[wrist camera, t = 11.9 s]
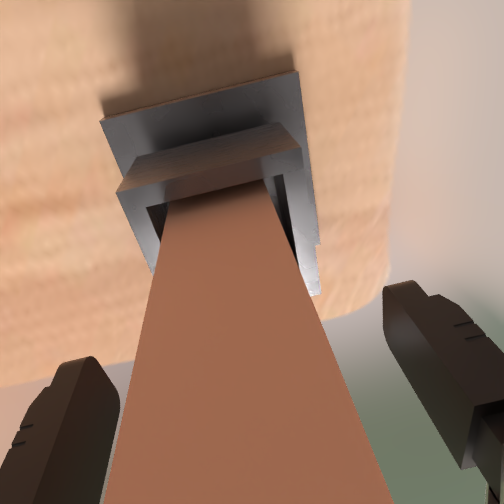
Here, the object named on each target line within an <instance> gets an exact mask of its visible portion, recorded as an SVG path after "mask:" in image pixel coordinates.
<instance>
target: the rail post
mask: <svg viewBox="0 0 504 504" xmlns="http://www.w3.org/2000/svg"><path fill="white" fill-rule="evenodd" d="M104 504H394V502H393V500H392V497H391V495H390V492H389V490H388V488H387V485H386V482H385V480H384V478H383V475H382V473H381V470H380V468H379V465H378V463H377V461H376V458H375V455H374V453H373V450H372V448H371V445H370V443H369V441H368V438H367V436H366V433H365V430H364V428H363V426H362V423H361V421H360V418H359V416H358V413H357V411H356V409H355V406H354V403H353V401H352V398H351V396H350V394H349V391H348V388H347V386H346V384H345V381H344V379H343V376H342V374H341V371H340V369H339V366H338V364H337V361H336V359H335V356H334V354H333V351H332V349H331V346H330V344H329V341H328V339H327V336H326V334H325V332H324V329H323V327H322V324H321V322H320V319H319V317H318V314H317V312H316V309H315V307H314V304H313V302H312V299H311V297H310V294H309V292H308V289H307V287H306V284H305V282H304V279H303V277H302V275H301V272H300V270H299V267H298V265H297V262H296V260H295V257H294V255H293V252H292V250H291V247H290V245H289V242H288V240H287V237H286V235H285V232H284V230H283V228H282V225H281V223H280V220H279V218H278V215H277V213H276V210H275V208H274V205H273V203H272V200H271V198H270V195H269V193H268V190H267V188H266V185H265V183H264V180H263V179H259V180H255V181H251V182H247V183H243V184H239V185H234V186H230V187H226V188H222V189H218V190H214V191H210V192H206V193H202V194H198V195H194V196H189V197H185V198H181V199H177V200H173V201H170V203H169V208H168V212H167V217H166V221H165V226H164V230H163V235H162V240H161V244H160V249H159V253H158V258H157V262H156V267H155V271H154V276H153V280H152V285H151V290H150V294H149V299H148V303H147V308H146V312H145V317H144V321H143V326H142V330H141V335H140V340H139V344H138V349H137V353H136V358H135V362H134V367H133V371H132V376H131V381H130V385H129V390H128V394H127V399H126V403H125V408H124V413H123V417H122V421H121V426H120V431H119V435H118V440H117V444H116V449H115V454H114V458H113V462H112V467H111V472H110V476H109V481H108V485H107V490H106V494H105V499H104Z"/></svg>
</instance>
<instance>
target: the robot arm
mask: <svg viewBox="0 0 504 504" xmlns="http://www.w3.org/2000/svg"><path fill="white" fill-rule="evenodd" d="M382 295H383V330H384V335H385V338H386V341H387V344H388V346H389V348H390V350H391V352H392V354H393V355H394V357H395V359H396V360H397V362H398V364H399V366H400V367H401V369H402V371H403V372H404V374H405V376H406V377H407V379H408V381H409V382H410V384H411V386H412V388H413V389H414V391H415V393H416V394H417V396H418V398H419V400H420V401H421V403H422V405H423V406H424V408H425V410H426V411H427V413H428V415H429V417H430V418H431V420H432V422H433V423H434V425H435V427H436V429H437V430H438V432H439V434H440V435H441V437H442V439H443V440H444V442H445V444H446V446H447V447H448V449H449V451H450V452H451V454H452V456H453V457H454V459H455V461H456V462H457V464H458V466H459V468H460V469H461V470H463V469H467V468H472V467H476V466H477V467H478V468H479V469H480V472H481V473H482V475H483V476H484V478H485V479H486V481H487V483H486V494H485V504H504V353H503V352H502V351H501V350H500V349H499V348H498V347H497V345H496V344H494V342H493V341H492V340H491V339H490V338H489V337H486V335H485V333H484V332H483V330H482V329H481V328H480V327H479V326H478V325H477V324H474V322H473V320H472V319H471V318H470V317H469V316H468V315H467V313H466V312H465V311H464V310H463V309H462V308H461V307H460V306H459V305H457V304H456V303H454V302H452V301H450V300H449V299H447V298H445V297H443V296H441V295H439V294H438V295H433V296H429V297H428V295H427V294H426V293H425V292H424V291H423V290H422V288H421V287H420V286H419V285H418V284H417V283H416V282H415V281H413V280H410V281H406V282H402V283H397V284H393V285H389V286H385V287H384V288H383V293H382ZM119 413H120V399H119V395H118V392H117V390H116V388H115V386H114V385H113V383H112V382H111V380H110V379H109V377H108V376H107V374H106V373H105V371H104V370H103V368H102V367H101V365H100V364H99V362H98V361H97V360H96V359H95V358H94V357H92V356H89V357H85V358H81V359H77V360H72V361H68V362H64V363H62V364H61V365H60V366H59V367H58V369H57V371H56V374H55V376H54V378H53V381H52V383H51V385H50V386H49V387H45V388H44V389H43V390H42V392H41V393H40V394H39V395H38V397H37V398H36V399H35V400H34V401H33V403H32V404H31V405H30V406H29V408H28V410H27V413H26V414H25V417H24V419H23V421H22V423H21V425H20V431H18V432H17V434H16V436H15V438H14V440H13V442H12V448H11V449H9V451H8V453H7V455H6V457H5V459H4V461H3V464H2V466H1V468H0V504H99V502H100V498H101V494H102V489H103V485H104V480H105V476H106V471H107V467H108V462H109V458H110V453H111V448H112V444H113V440H114V435H115V431H116V426H117V422H118V418H119Z"/></svg>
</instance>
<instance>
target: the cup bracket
mask: <svg viewBox="0 0 504 504" xmlns="http://www.w3.org/2000/svg"><path fill="white" fill-rule="evenodd" d="M100 124H101V126H102V129H103V131H104V133H105V136H106V138H107V140H108V143H109V145H110V147H111V150H112V152H113V154H114V157H115V159H116V162H117V164H118V166H119V169H120V171H121V173H122V176H123V178H124V179H123V181H122V183H121V184H120V186H119V188H118V189H117V191H116V194H117V197H118V199H119V201H120V203H121V206H122V208H123V210H124V212H125V215H126V217H127V219H128V221H129V224H130V226H131V228H132V230H133V232H134V235H135V237H136V239H137V241H138V244H139V246H140V248H141V250H142V253H143V255H144V257H145V259H146V262H147V264H148V266H149V268H150V270H151V273H152V275H153V276H154V271H155V267H156V262H157V258H158V253H159V249H160V244H161V240H162V235H163V230H164V226H165V221H166V217H167V212H168V208H169V203H170V201H173V200H177V199H181V198H185V197H189V196H194V195H198V194H202V193H206V192H210V191H214V190H218V189H222V188H226V187H230V186H234V185H239V184H243V183H247V182H251V181H255V180H259V179H263V180H264V183H265V185H266V188H267V190H268V193H269V195H270V198H271V200H272V203H273V205H274V208H275V210H276V213H277V215H278V218H279V220H280V223H281V225H282V228H283V230H284V232H285V235H286V237H287V240H288V242H289V245H290V247H291V250H292V252H293V255H294V257H295V260H296V262H297V265H298V267H299V270H300V272H301V275H302V277H303V279H304V282H305V284H306V287H307V289H308V292H309V294H310V296H315V295H319V294H321V287H320V279H319V272H318V265H317V257H316V250H315V245H320V237H319V230H318V222H317V214H316V206H315V198H314V190H313V183H312V175H311V167H310V159H309V151H308V143H307V135H306V128H305V120H304V112H303V104H302V96H301V88H300V81H299V73H298V71H295V70H293V71H289V72H285V73H281V74H277V75H273V76H269V77H265V78H261V79H256V80H252V81H248V82H244V83H240V84H236V85H232V86H228V87H224V88H220V89H216V90H212V91H208V92H204V93H200V94H196V95H192V96H188V97H184V98H180V99H176V100H172V101H168V102H164V103H160V104H156V105H152V106H148V107H144V108H140V109H136V110H132V111H128V112H124V113H120V114H116V115H112V116H108V117H104V118H103V119H102V120H100Z"/></svg>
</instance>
